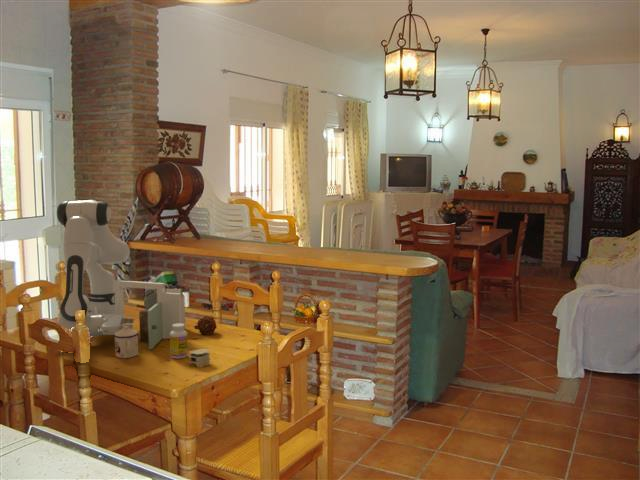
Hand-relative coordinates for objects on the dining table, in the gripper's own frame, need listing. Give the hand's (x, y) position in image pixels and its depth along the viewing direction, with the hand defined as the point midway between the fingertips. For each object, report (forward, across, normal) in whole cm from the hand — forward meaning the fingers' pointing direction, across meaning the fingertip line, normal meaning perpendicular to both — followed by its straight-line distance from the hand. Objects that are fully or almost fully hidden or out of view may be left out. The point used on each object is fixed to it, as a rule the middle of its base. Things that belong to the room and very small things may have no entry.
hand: (133, 323), depth 262 cm
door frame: (+6, +7, +8) cm, 12 cm away
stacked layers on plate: (+26, -37, +9) cm, 46 cm away
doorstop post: (+5, 0, +8) cm, 10 cm away
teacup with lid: (-2, -20, +8) cm, 21 cm away
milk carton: (+17, +15, +8) cm, 24 cm away
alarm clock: (+9, +40, +8) cm, 42 cm away
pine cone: (+31, +6, +8) cm, 32 cm away
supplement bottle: (+18, -25, +8) cm, 32 cm away
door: (+10, -6, +8) cm, 14 cm away
